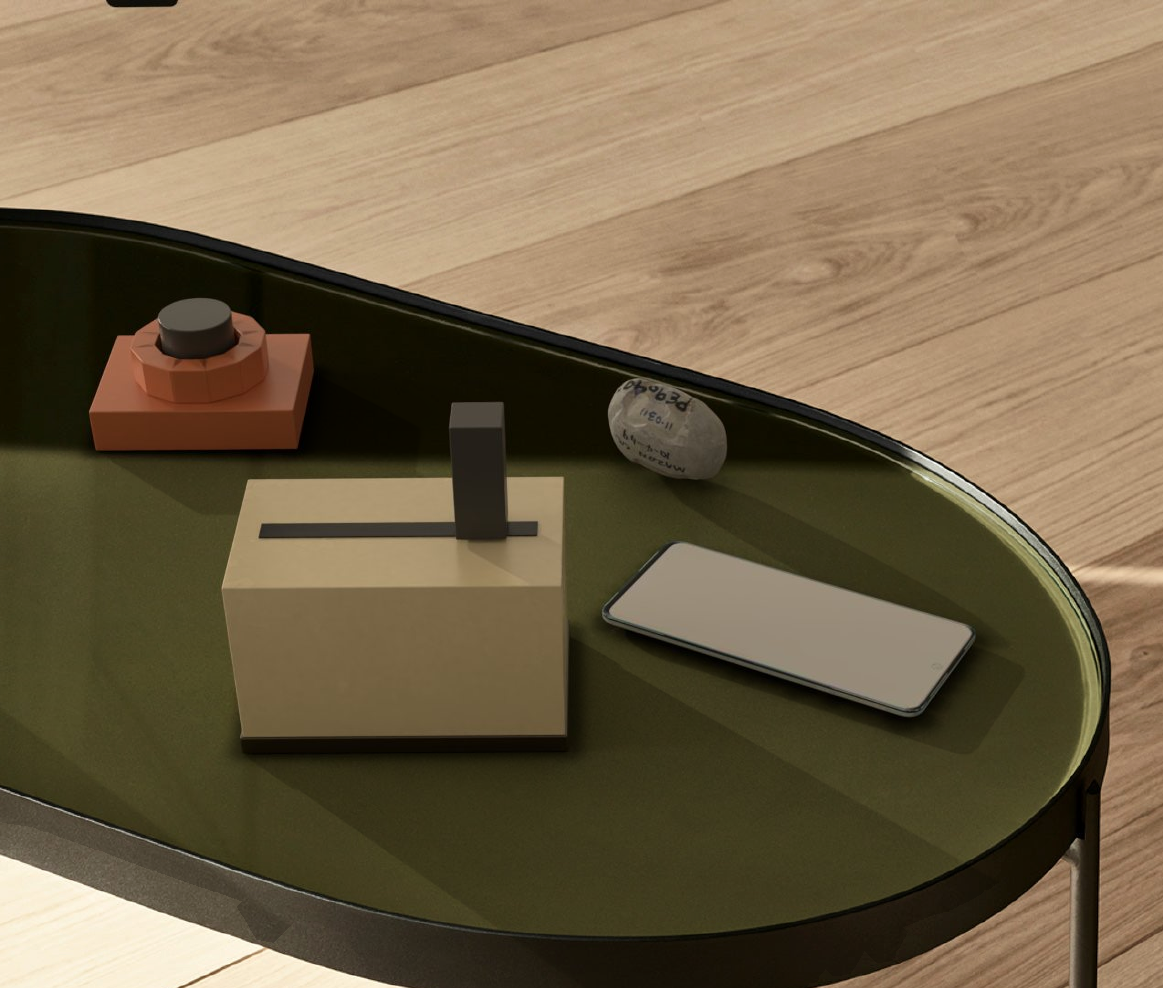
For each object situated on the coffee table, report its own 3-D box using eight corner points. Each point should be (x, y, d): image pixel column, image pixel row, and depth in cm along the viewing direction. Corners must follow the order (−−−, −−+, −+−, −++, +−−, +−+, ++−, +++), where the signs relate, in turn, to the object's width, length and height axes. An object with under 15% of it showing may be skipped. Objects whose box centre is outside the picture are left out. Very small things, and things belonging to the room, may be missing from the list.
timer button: (157, 363, 104) (152, 331, 102) (168, 329, 106) (163, 297, 105) (230, 363, 103) (225, 330, 102) (239, 329, 106) (235, 297, 105)
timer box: (95, 451, 104) (82, 379, 102) (123, 373, 110) (111, 303, 108) (297, 449, 104) (289, 377, 101) (314, 371, 110) (306, 301, 108)
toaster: (242, 754, 85) (217, 588, 80) (266, 636, 92) (245, 476, 87) (567, 751, 85) (564, 585, 80) (569, 634, 92) (566, 473, 86)
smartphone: (671, 537, 96) (980, 628, 90) (670, 547, 97) (979, 638, 91) (596, 613, 92) (917, 714, 86) (596, 623, 92) (916, 725, 86)
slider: (455, 540, 82) (449, 428, 79) (458, 513, 84) (451, 401, 81) (506, 540, 82) (502, 427, 79) (508, 512, 84) (503, 401, 81)
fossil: (740, 480, 101) (743, 387, 98) (705, 513, 99) (708, 419, 96) (624, 446, 104) (624, 354, 101) (589, 477, 102) (587, 385, 98)
